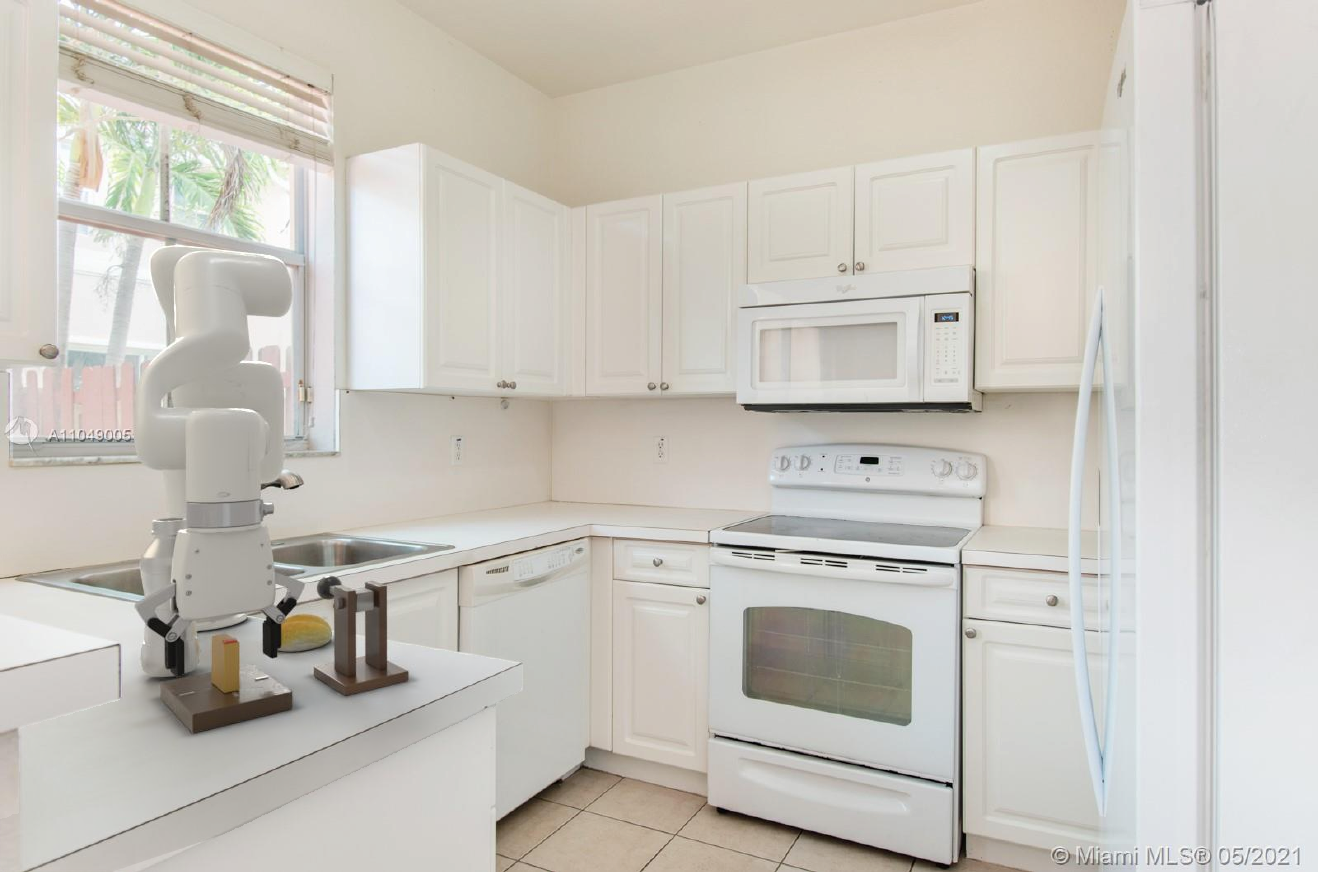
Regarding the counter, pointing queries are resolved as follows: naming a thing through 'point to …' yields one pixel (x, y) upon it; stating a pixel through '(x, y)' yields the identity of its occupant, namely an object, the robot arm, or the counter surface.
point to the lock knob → (225, 662)
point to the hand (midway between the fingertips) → (225, 664)
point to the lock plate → (224, 699)
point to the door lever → (362, 594)
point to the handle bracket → (346, 668)
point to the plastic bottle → (154, 578)
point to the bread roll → (304, 633)
